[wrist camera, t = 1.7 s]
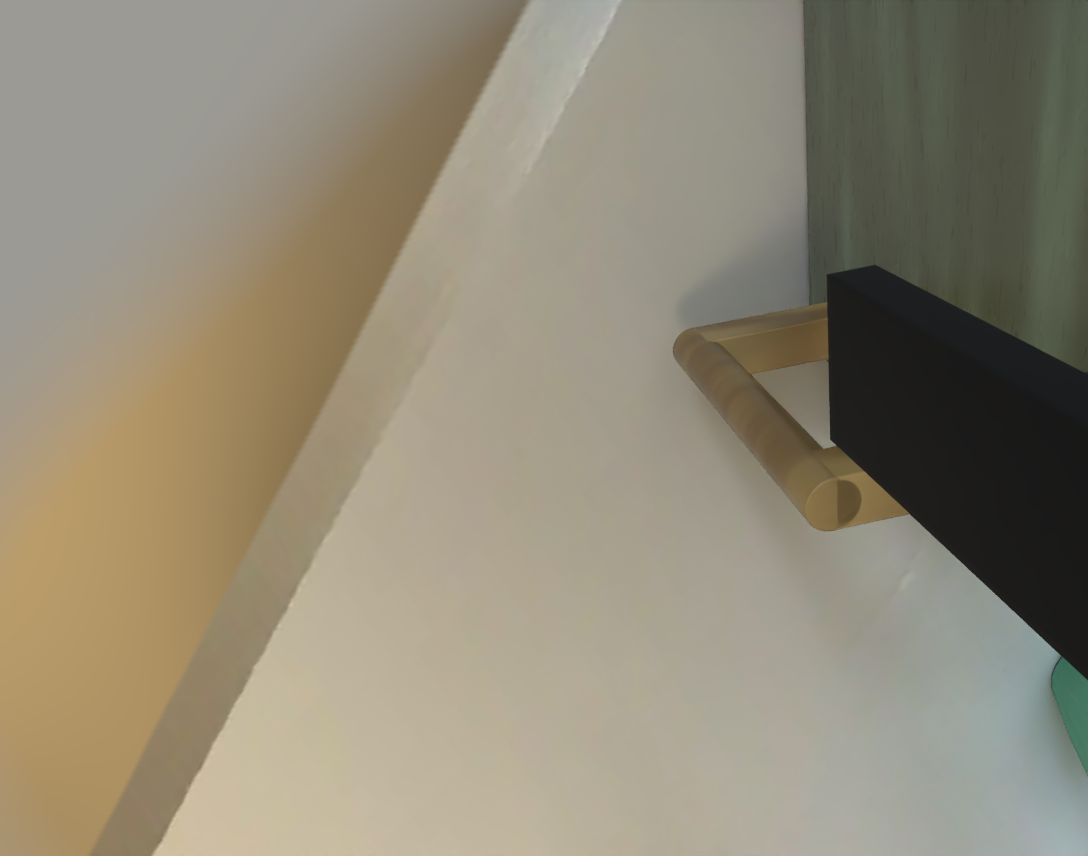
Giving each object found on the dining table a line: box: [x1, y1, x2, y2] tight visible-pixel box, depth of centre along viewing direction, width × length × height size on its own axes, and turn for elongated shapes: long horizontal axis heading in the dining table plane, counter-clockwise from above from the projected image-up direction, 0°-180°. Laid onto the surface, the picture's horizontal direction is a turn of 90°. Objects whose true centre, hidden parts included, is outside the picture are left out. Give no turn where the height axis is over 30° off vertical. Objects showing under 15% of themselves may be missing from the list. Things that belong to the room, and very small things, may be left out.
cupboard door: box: [673, 0, 1088, 531], centre depth 28 cm, size 7×16×17 cm, turn 8°
